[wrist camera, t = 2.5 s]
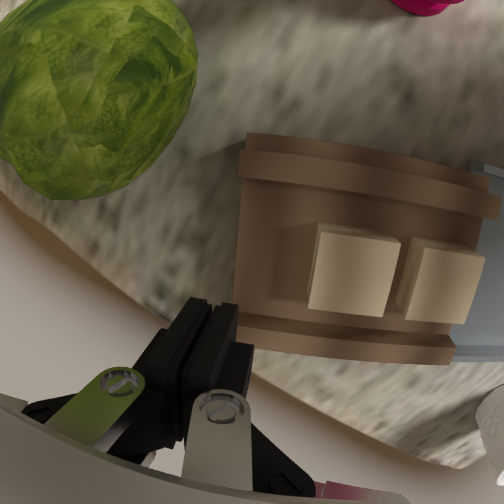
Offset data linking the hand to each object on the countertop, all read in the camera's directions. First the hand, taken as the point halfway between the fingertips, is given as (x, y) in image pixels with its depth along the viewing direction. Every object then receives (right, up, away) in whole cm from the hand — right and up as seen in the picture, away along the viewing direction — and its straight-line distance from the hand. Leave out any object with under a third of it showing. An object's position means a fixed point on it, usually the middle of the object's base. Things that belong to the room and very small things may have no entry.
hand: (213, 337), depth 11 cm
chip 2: (+13, +2, +8) cm, 15 cm away
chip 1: (+7, +2, +8) cm, 11 cm away
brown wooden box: (+9, +3, +12) cm, 15 cm away
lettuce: (-13, +18, +11) cm, 25 cm away
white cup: (+30, -15, +15) cm, 37 cm away
